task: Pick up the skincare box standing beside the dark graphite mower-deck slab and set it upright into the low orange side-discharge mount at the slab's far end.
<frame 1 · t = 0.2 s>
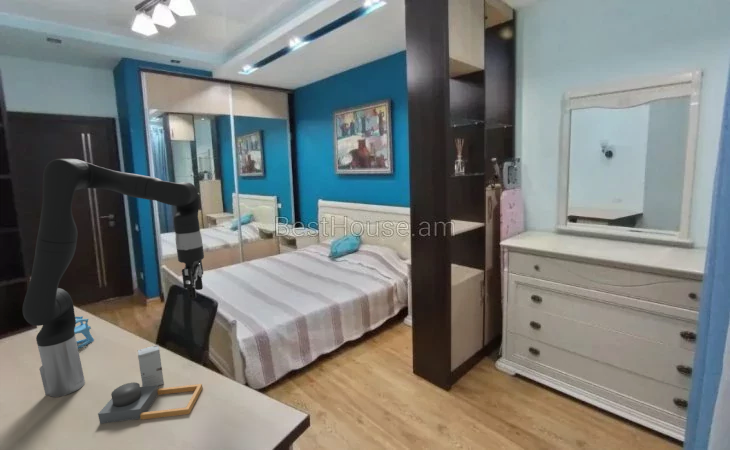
hand: (196, 294, 118), 28 cm above the table, fingers open, 8 cm apart
skincare box: (153, 384, 119), on the table
deck: (147, 406, 108), on the table
chair: (81, 344, 148), on the table
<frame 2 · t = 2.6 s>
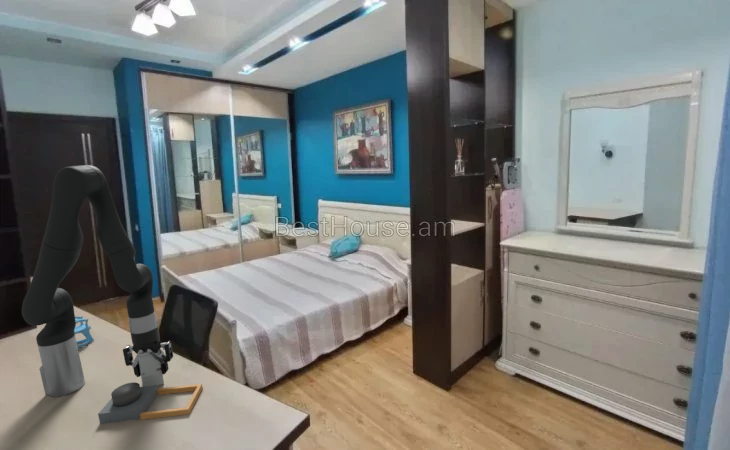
hand: (152, 374, 118), 4 cm above the table, fingers closed on skincare box, 7 cm apart
skincare box: (153, 384, 119), on the table, touching gripper
everything else where it was.
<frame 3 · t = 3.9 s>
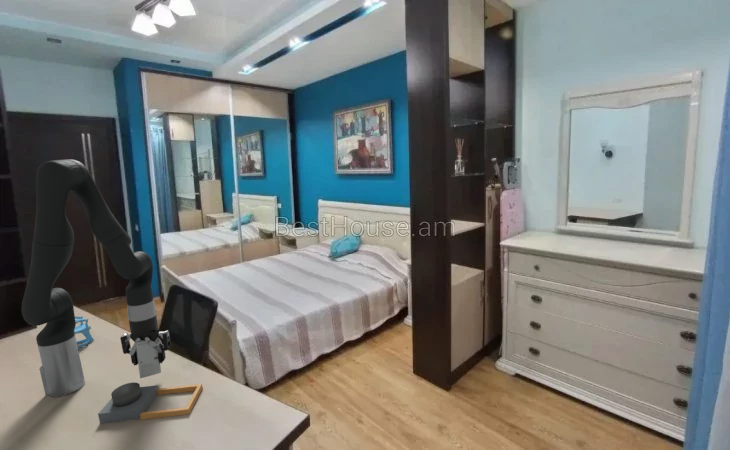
hand: (149, 362, 118), 7 cm above the table, fingers closed on skincare box, 7 cm apart
skincare box: (150, 373, 119), point 4 cm above the table, touching gripper
everything else where it was.
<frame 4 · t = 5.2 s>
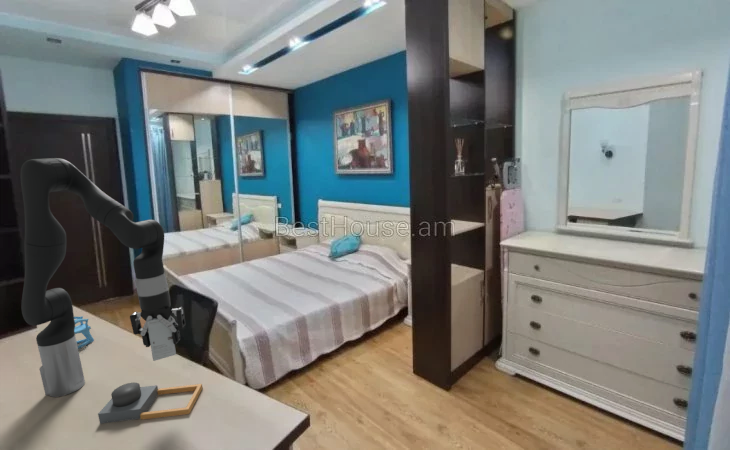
hand: (162, 344, 106), 19 cm above the table, fingers closed on skincare box, 7 cm apart
skincare box: (164, 355, 107), point 15 cm above the table, touching gripper
everything else where it was.
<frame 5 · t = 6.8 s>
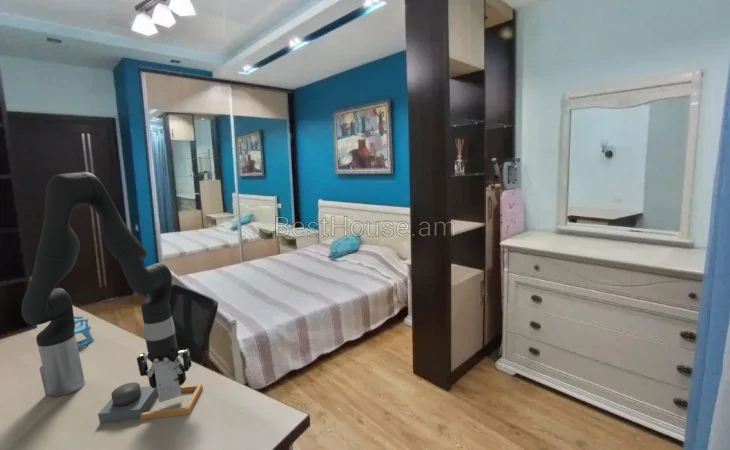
hand: (168, 384, 108), 6 cm above the table, fingers closed on skincare box, 7 cm apart
skincare box: (170, 395, 108), point 2 cm above the table, touching gripper
everything else where it was.
when the fingers open (4 cm above the table, at t = 7.7 s): skincare box stays where it is, resting in deck.
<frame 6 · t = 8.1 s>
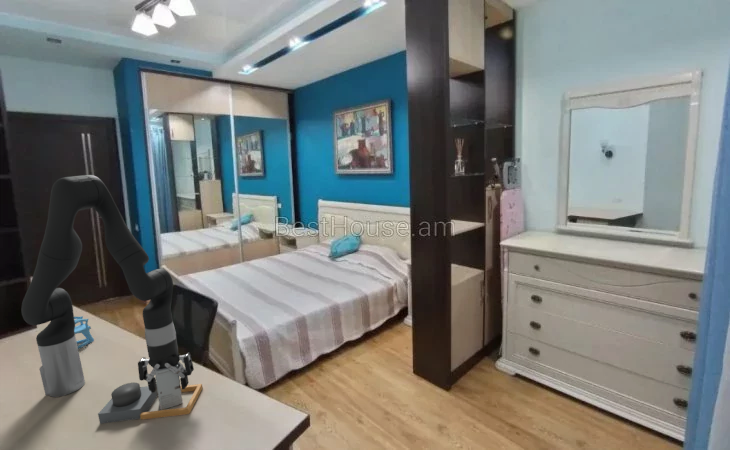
hand: (169, 389, 108), 5 cm above the table, fingers open, 8 cm apart
skincare box: (171, 403, 109), resting in deck
everything else where it was.
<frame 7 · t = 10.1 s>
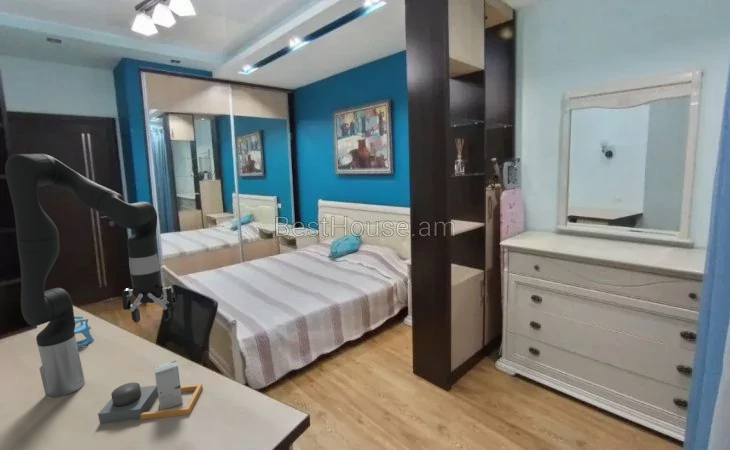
hand: (152, 320, 111), 23 cm above the table, fingers open, 8 cm apart
nothing on the table moved.
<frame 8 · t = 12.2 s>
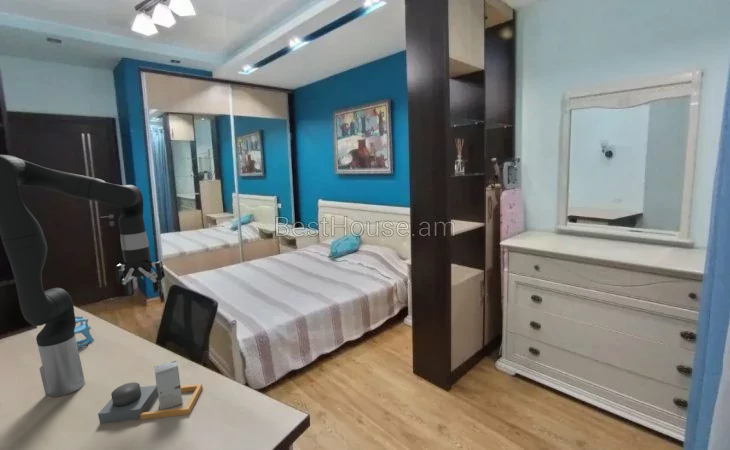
hand: (143, 293, 122), 28 cm above the table, fingers open, 8 cm apart
nothing on the table moved.
at the end: skincare box inside the target area on the deck (0.4 cm from its centre), point 0.0 cm above the deck's base; skincare box tilted 0°; the gripper is holding nothing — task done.
